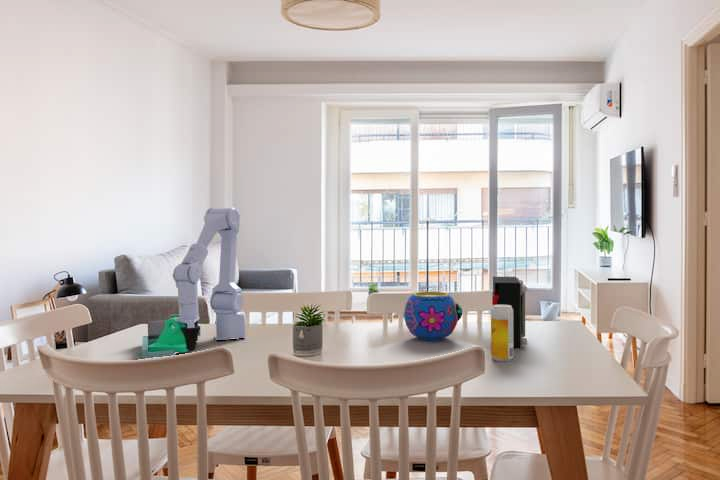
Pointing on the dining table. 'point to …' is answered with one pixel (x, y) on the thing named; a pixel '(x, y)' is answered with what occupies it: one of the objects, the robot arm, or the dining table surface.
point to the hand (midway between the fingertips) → (190, 347)
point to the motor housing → (160, 328)
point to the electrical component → (512, 304)
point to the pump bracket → (147, 354)
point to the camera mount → (170, 338)
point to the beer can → (502, 332)
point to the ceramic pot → (431, 315)
